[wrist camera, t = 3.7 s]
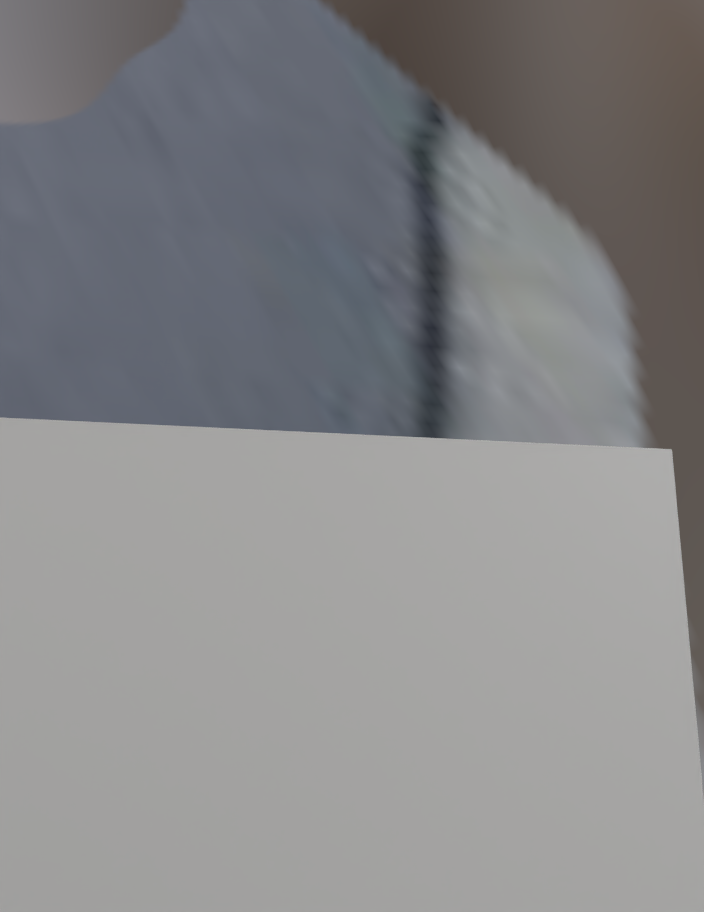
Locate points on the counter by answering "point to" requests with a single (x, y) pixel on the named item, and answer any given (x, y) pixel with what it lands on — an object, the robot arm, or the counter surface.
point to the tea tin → (341, 674)
